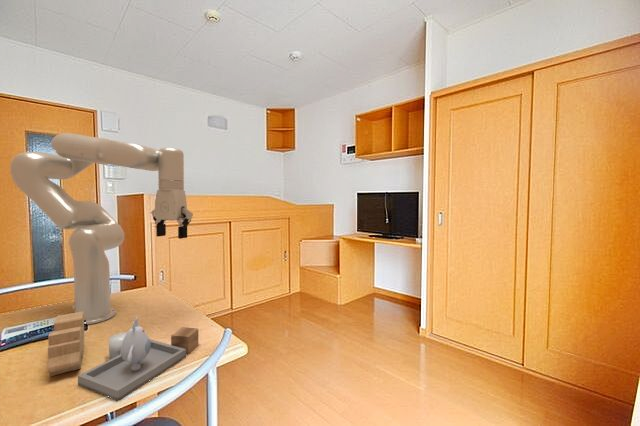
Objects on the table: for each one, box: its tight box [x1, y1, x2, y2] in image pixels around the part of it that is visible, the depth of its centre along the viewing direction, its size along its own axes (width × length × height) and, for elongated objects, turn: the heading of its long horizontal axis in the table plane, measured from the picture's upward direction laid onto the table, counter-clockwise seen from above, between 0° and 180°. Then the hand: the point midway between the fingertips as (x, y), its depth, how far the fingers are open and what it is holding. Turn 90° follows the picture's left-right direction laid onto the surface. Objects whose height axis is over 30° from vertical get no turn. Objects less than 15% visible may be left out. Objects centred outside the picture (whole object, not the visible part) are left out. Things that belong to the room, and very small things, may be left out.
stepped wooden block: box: [46, 311, 85, 377], centre depth 74 cm, size 6×17×10 cm, turn 36°
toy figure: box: [121, 316, 151, 371], centre depth 71 cm, size 11×6×12 cm, turn 17°
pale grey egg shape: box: [108, 331, 128, 360], centre depth 78 cm, size 5×5×5 cm
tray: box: [77, 338, 187, 402], centre depth 71 cm, size 13×18×2 cm
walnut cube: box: [170, 326, 199, 355], centre depth 82 cm, size 5×5×5 cm
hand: (171, 237), depth 99 cm, fingers open, 9 cm apart
